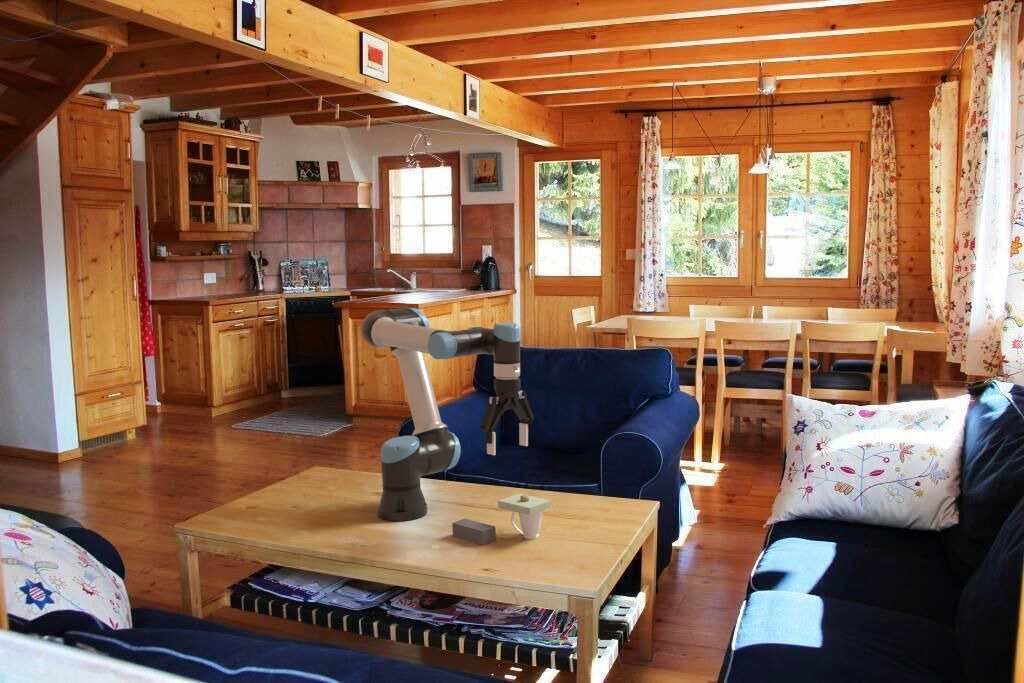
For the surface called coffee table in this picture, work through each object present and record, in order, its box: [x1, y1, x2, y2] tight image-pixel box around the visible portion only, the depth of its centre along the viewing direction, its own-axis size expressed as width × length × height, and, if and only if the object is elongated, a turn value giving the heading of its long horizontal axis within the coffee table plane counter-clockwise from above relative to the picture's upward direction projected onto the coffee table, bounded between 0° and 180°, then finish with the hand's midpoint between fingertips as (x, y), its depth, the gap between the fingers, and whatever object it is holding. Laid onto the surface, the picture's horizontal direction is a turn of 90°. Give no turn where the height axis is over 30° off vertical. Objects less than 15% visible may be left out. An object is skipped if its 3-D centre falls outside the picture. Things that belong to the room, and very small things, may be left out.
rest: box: [452, 518, 497, 546], centre depth 244 cm, size 12×5×4 cm, turn 48°
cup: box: [510, 511, 543, 540], centre depth 245 cm, size 7×10×8 cm
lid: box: [497, 493, 552, 515], centre depth 245 cm, size 12×9×3 cm
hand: (507, 449), depth 251 cm, fingers open, 13 cm apart
